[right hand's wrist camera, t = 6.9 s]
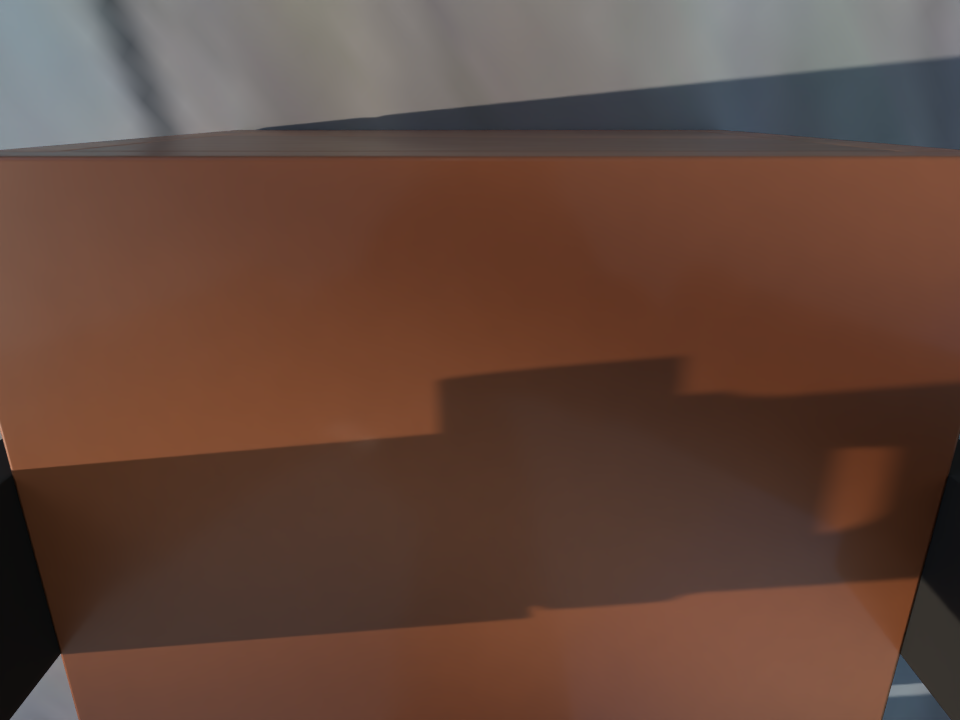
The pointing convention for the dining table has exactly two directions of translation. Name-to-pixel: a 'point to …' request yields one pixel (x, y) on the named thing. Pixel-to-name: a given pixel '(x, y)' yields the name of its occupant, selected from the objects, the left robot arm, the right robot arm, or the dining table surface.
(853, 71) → the dining table surface
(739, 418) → the wooden drawer cabinet
